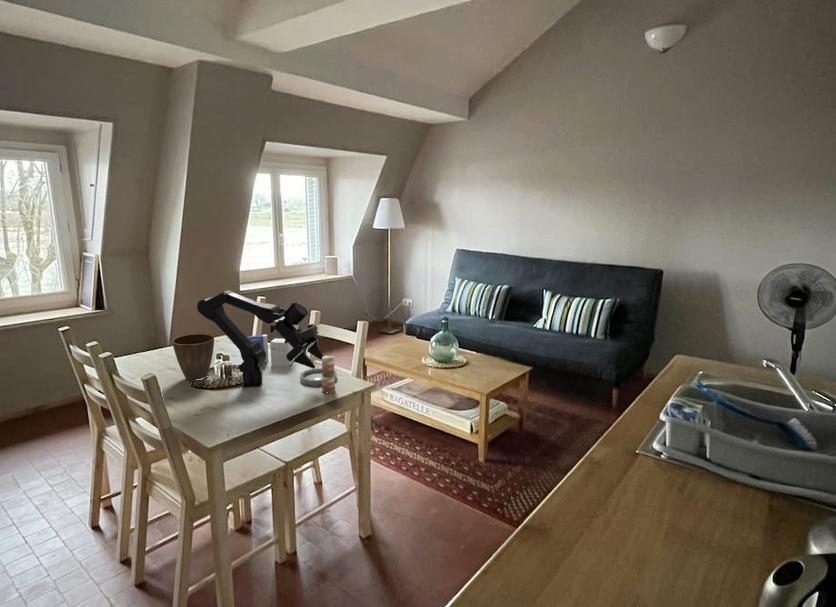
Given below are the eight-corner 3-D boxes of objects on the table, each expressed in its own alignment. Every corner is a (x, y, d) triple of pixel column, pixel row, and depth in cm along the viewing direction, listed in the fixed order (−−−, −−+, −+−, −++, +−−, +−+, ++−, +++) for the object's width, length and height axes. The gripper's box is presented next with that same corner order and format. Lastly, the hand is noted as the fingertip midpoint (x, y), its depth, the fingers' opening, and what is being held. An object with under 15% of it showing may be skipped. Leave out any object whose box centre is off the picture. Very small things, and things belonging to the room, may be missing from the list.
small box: (293, 362, 213) (292, 338, 211) (289, 366, 208) (288, 342, 206) (275, 361, 214) (274, 338, 212) (270, 365, 209) (269, 341, 206)
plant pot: (177, 373, 197) (174, 335, 194) (217, 369, 202) (214, 332, 199) (173, 387, 183) (170, 346, 180) (216, 382, 189) (213, 342, 185)
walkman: (250, 364, 210) (248, 337, 207) (249, 362, 212) (247, 335, 210) (269, 361, 213) (268, 335, 211) (268, 359, 216) (266, 333, 213)
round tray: (300, 386, 186) (299, 381, 186) (300, 373, 199) (300, 369, 199) (337, 384, 189) (337, 379, 188) (335, 372, 202) (335, 367, 202)
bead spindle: (322, 393, 180) (321, 360, 177) (322, 388, 185) (321, 355, 182) (335, 392, 181) (334, 359, 178) (334, 387, 186) (334, 355, 183)
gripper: (293, 325, 170) (324, 357, 170) (313, 313, 188) (341, 342, 188) (273, 345, 173) (303, 377, 173) (295, 331, 191) (322, 360, 191)
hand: (319, 363), depth 181 cm, fingers open, 9 cm apart
